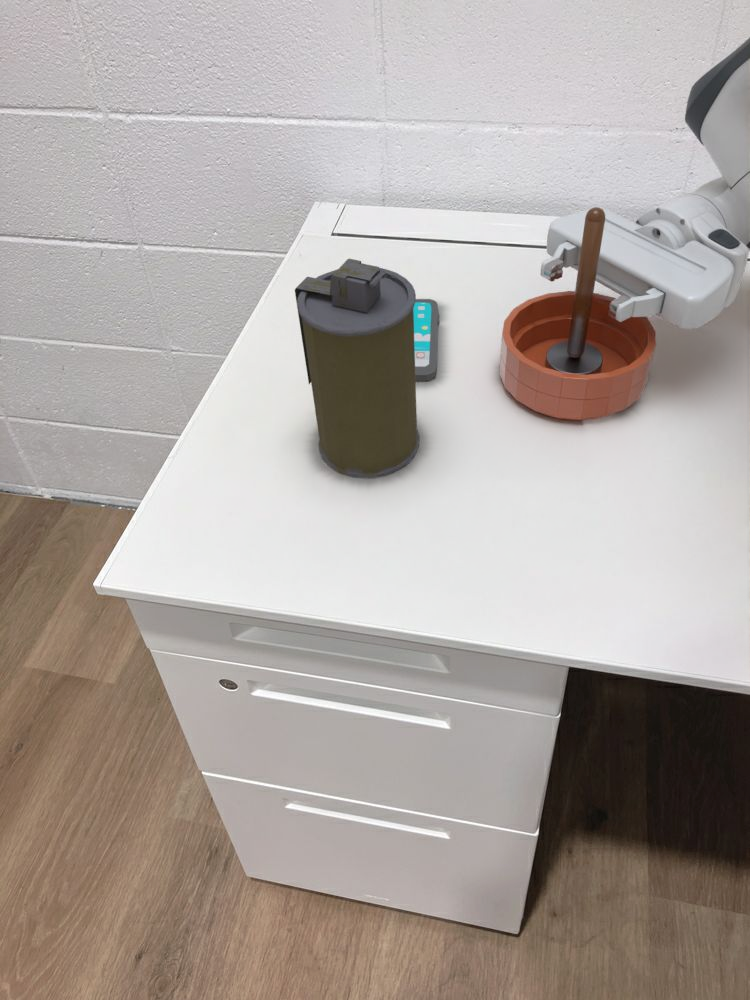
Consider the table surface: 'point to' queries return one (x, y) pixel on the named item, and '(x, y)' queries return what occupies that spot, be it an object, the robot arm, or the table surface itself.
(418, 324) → the smartphone
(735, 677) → the table surface
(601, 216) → the peg on round base
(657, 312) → the robot arm
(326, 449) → the canister
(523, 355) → the bowl
